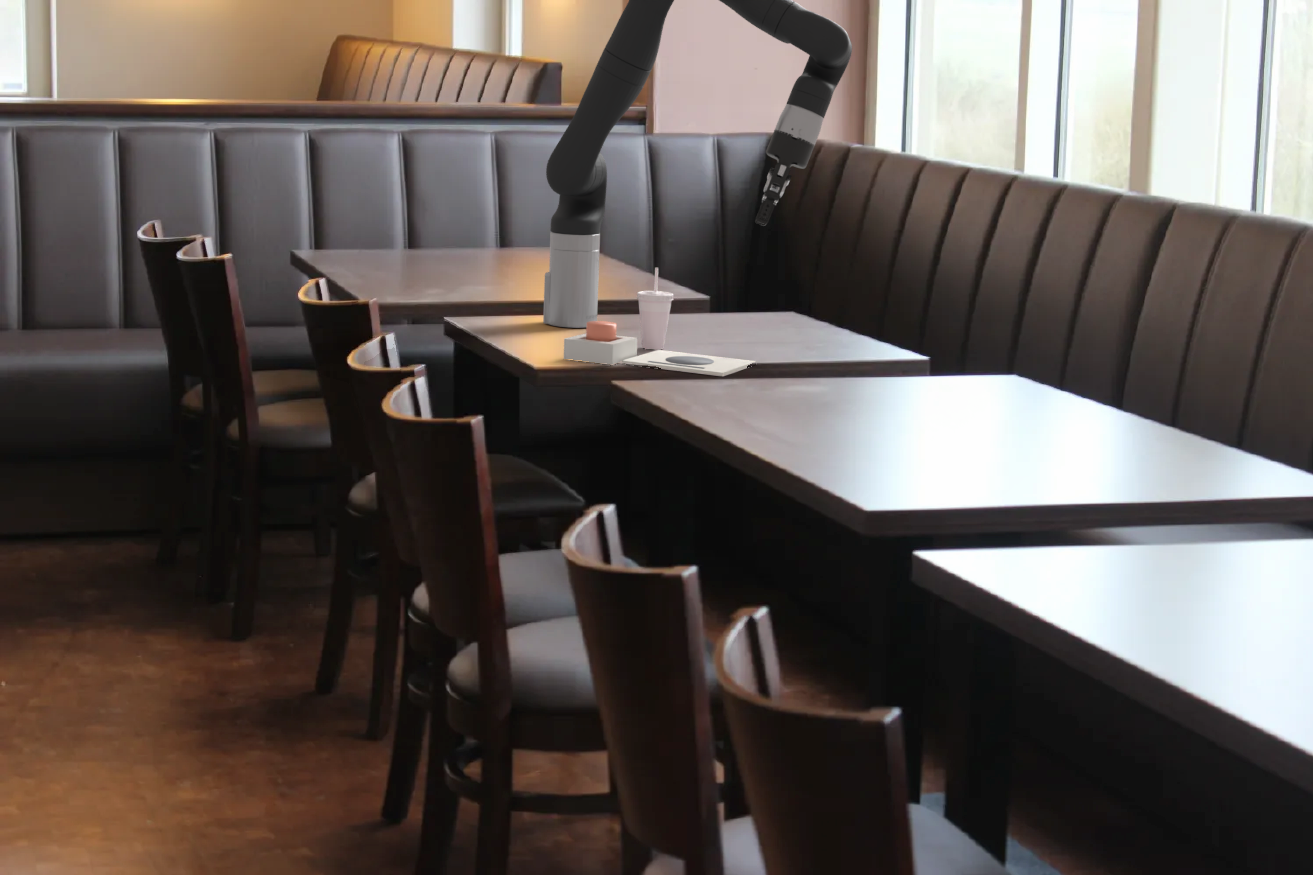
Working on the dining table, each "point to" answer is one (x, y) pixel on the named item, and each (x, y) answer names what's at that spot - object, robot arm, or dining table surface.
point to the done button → (601, 331)
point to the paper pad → (690, 362)
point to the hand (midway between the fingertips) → (760, 223)
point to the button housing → (600, 349)
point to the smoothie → (654, 316)
